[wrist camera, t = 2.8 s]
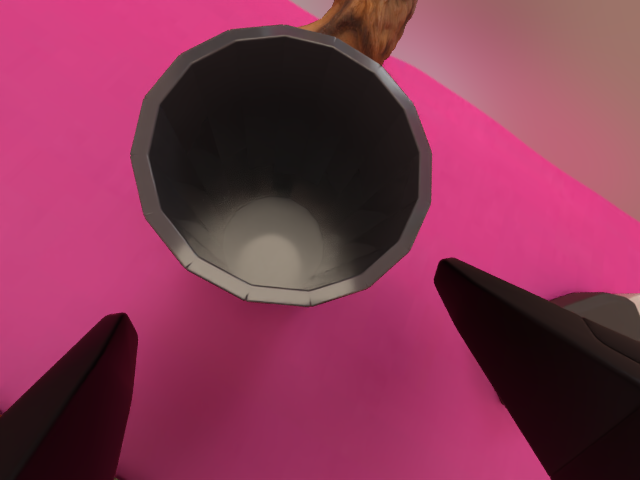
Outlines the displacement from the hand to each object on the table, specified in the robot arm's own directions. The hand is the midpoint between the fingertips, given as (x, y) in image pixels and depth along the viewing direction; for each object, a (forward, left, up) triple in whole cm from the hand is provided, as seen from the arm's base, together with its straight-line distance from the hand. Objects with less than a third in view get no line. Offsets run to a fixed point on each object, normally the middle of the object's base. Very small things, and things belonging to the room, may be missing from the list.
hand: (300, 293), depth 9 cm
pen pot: (+3, +1, -10) cm, 11 cm away
